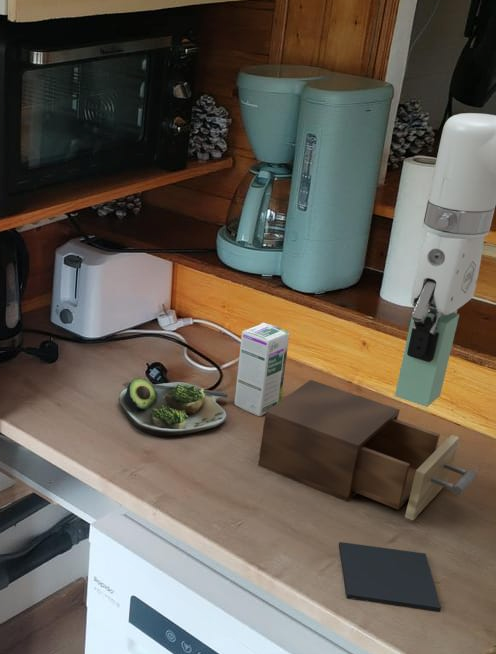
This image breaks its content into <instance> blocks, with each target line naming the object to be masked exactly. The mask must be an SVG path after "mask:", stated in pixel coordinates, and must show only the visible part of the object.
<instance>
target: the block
mask: <svg viewBox="0 0 496 654" xmlns="http://www.w3.org/2000/svg"><path fill="white" fill-rule="evenodd" d="M430 307H431V308H434V307H433V306H430ZM435 309H436V308H435ZM427 315H428V317H431V320H432V321H433V318H434V315H435V314H431V313H427ZM459 318H460V313H457V314H456V313H451V314H449V315H443V314H442V316H441V319H440V322H439V325H438V329H437V332H436V333H439V336H438V341H437V345H436V349H435V354H434V358H433V360H432V361H431V362H426V361H423V360H420V359H417V358H413V357H410V356H408V355H407V351H408V347H409V342H410V337H411V333H412V325H413V322H414V320H413V318H412V317H411V320H410V323H409V328H408V331H407V332H408V333H407V338H406V340H405V341H406V342H405V345H404V351H403V355H402V360H401V366H400V370H399V375H398V380H397V384H396V388H395V394H394V397H396V398H399V399H401V400H404V401H408V402H410V403H414V404H417V405H420V406H423V407H426V408H428V407H429V406H430V405H432V404H433V403H434V402H436V400H437V399H438V398H440V397H441V394H442V391H443V390H442V389H443V385H444V381H445V378H446V377H445V376H446V373H447V368H448V364H449V360H450V355H451V351H452V347H453V344H454V339H455V334H456V331H457V327H458V322H459Z"/></svg>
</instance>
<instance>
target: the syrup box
mask: <svg viewBox="0 0 496 654" xmlns="http://www.w3.org/2000/svg"><path fill="white" fill-rule="evenodd" d="M290 335H291V334H290V331H288V330H285V329H283V328H281V327H279V326H277V325H274V324H270V323H266V322H261V323H260V324H257V325H255V326H252V327H249V328H247V329H244V330H242V331H241V339H240V346H239V347H240V349H239V356H238V357H239V358H238V366H237V374H236V376H237V377H236V383H235V384H236V385H235V394H234V403H233V404H234V406H236V407H238V408H240V409H241V410H243V411H246V412H248V413H251V414H253V415H255V416H257V417H262V416H264V415H265V414H266V411H267V410H269V409H270V408H271V407H273V406H274V405H276V404H277V403H278V402H280V401H281V400H282V394H283V386H284V379H285V372H286V371H285V370H286V366H287V365H286V363H287V356H288V350H289V349H288V347H289V341H290Z"/></svg>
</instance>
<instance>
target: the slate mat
mask: <svg viewBox="0 0 496 654" xmlns="http://www.w3.org/2000/svg"><path fill="white" fill-rule="evenodd" d="M338 548H339V555H340V563H341V569H342V576H343V583H344V588H345V595H347V596H346V598H347V599H351V598H355V599H354V600H358V599H359V601H365V600H368V601H367V602H371V603H372V602H373V603H379V602H381V603H380V604H385V605H386V604H388V605H392V604H393V606H399V607H400V606H401V607H406V606H408V607H407V608H413V607H414V609H422V610H427V611H435V612H441V610H442V606H441V602H440V599H439V595H438V592H437V589H436V585H435V582H434V578H433V574H432V572H431V568H430V564H429V560H428V557H427V553H424V552H417V551H411V550H410V551H409V550H403V549H395V548H387V547H381V546H373V545H366V544H359V543H351V542H344V541H339V542H338Z"/></svg>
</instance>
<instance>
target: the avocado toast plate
mask: <svg viewBox="0 0 496 654" xmlns="http://www.w3.org/2000/svg"><path fill="white" fill-rule="evenodd" d="M121 385H122V386H123V387H124V389H123V390H122V391H121V392H120V394H119V396H118V402H119V404H120V407H121V409H122V411H123V414H124V415H125V417H126V418H127V420H128V422H129V421H130V422H131V423H130V422H129V423H130V424H131V425H132V427H134V426H135V427H134V428H135V429H137V430H139V431H141V432H142V433H144V434H147V435H150V436H154V437H174V436H181V435H189V434H193V433H197V432H201V431H204V430H208V429H211V428H215V427H218V426H219V425H221V424H223V423H224V422H225V421H226V419H227V418H228V414H227V412H226V411H225V410H224V408H222V406H221V405H219V403H217V400H221V399H226V398H228V397H229V393H228V392H225V391H217V390H209V389H205V388H204V387H202V388H201V386H198V385H195V384H191V383H187V382H183V381H175V382H174V381H173V382H167V383H166V382H165V383H164V382H163V383H158V384H152V383H151V382H150V381H148V380H147V379H144V378H135V379H133V380H131V381H127V382H123V383H122V384H121Z"/></svg>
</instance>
